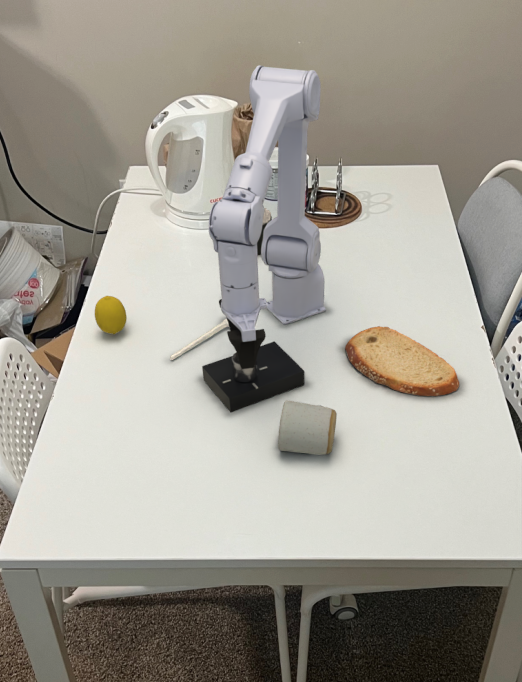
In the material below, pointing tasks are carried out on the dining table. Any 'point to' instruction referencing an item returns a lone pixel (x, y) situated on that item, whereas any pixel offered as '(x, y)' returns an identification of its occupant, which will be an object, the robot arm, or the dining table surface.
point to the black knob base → (271, 380)
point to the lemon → (110, 315)
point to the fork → (200, 339)
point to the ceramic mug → (306, 428)
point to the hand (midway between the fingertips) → (243, 353)
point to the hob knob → (243, 371)
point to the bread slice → (400, 363)
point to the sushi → (266, 219)
